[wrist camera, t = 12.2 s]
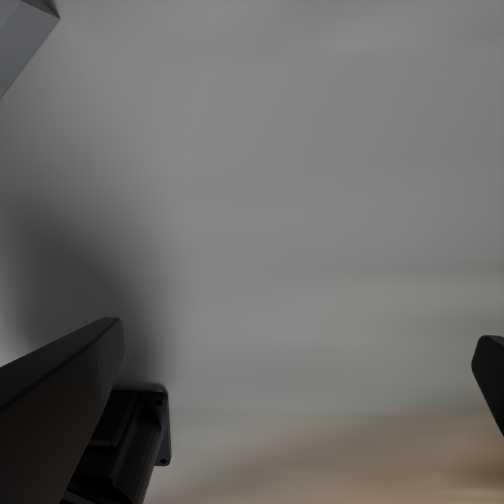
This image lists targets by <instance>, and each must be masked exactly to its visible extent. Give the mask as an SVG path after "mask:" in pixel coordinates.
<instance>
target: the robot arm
mask: <svg viewBox="0 0 504 504" xmlns="http://www.w3.org/2000/svg"><path fill="white" fill-rule="evenodd" d="M124 347H125V346H124V336H123V326H122V321H121V319H120V318H114V317H103V318H101V319H99V320H97V321H95V322H93V323H91V324H89V325H86V326H84V327H82V328H80V329H78V330H76V331H74V332H72V333H70V334H68V335H66V336H64V337H62V338H60V339H58V340H55V341H53V342H51V343H49V344H47V345H45V346H43V347H41V348H39V349H37V350H35V351H33V352H31V353H29V354H27V355H25V356H22V357H20V358H18V359H16V360H14V361H12V362H10V363H8V364H6V365H4V366H2V367H0V504H143V501H144V498H145V494H146V491H147V488H148V485H149V481H150V478H151V475H152V471H153V468H154V466H167V465H169V464H170V461H171V440H170V423H169V405H168V396H167V395H166V394H164V393H161V392H143V391H122V390H111V389H112V386H113V383H114V380H115V377H116V375H117V372H118V369H119V366H120V363H121V360H122V358H123V354H124ZM471 367H472V372H473V374H474V377H475V379H476V381H477V383H478V385H479V387H480V389H481V391H482V394H483V396H484V398H485V400H486V402H487V404H488V406H489V409H490V411H491V413H492V415H493V417H494V419H495V421H496V423H497V425H498V427H499V429H500V431H501V433H502V435H503V436H504V337H501V336H494V335H483V336H481V337H480V338H479V340H478V343H477V346H476V349H475V353H474V356H473V359H472V364H471ZM159 400H162V401H159Z"/></svg>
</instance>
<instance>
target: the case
mask: <svg viewBox="0 0 504 504" xmlns="http://www.w3.org/2000/svg"><path fill="white" fill-rule="evenodd" d="M59 20H60V18H59V17H58V16H57V15H56V14H55V13H54V12H53V11H52V10H51V9H50V8H49V7H48V6H47V5H46V4H45V3H44V2H43V1H42V0H0V99H1V98H2V96H3V95H4V94H5V92H6V91H7V90H8V88H9V87H10V86H11V84H12V83H13V82H14V80H15V79H16V78H17V76H18V75H19V74H20V72H21V71H22V69H23V68H24V67H25V65H26V64H27V63H28V61H29V60H30V59H31V57H32V56H33V55H34V53H35V52H36V51H37V49H38V48H39V47H40V45H41V44H42V43H43V41H44V40H45V39H46V37H47V36H48V35H49V33H50V32H51V31H52V29H53V28H54V27H55V25H56V24H57V23H58V21H59Z"/></svg>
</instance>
